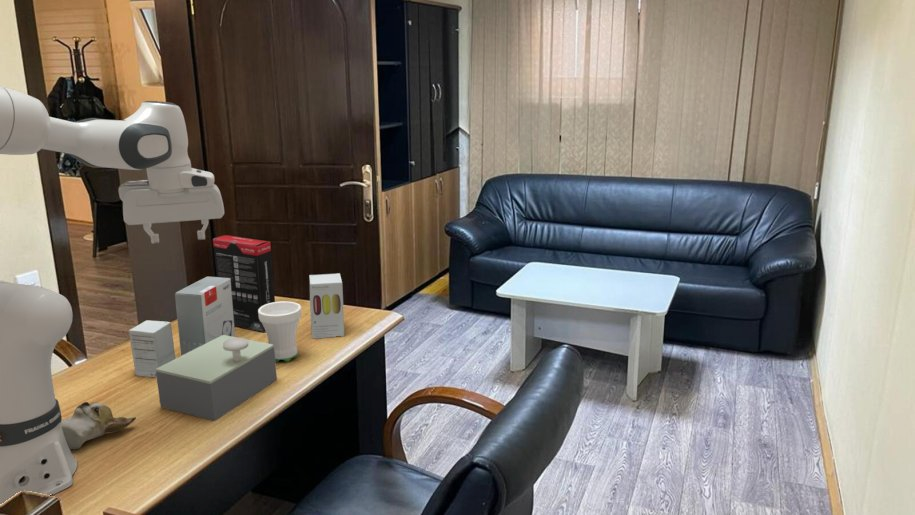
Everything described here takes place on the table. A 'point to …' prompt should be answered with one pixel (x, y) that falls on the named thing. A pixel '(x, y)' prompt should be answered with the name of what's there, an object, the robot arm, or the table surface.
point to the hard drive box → (204, 312)
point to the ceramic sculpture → (91, 423)
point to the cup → (281, 327)
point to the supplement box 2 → (326, 305)
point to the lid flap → (215, 359)
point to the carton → (217, 388)
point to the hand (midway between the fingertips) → (178, 240)
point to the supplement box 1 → (151, 346)
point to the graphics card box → (246, 276)
